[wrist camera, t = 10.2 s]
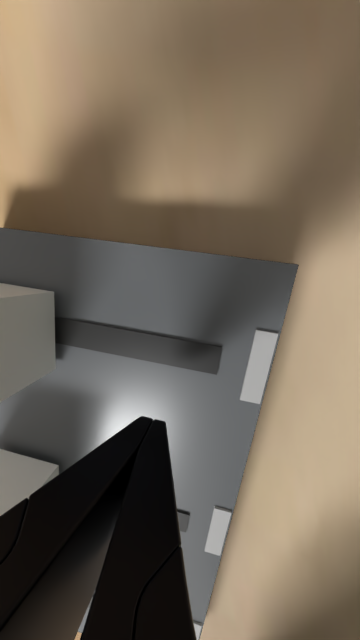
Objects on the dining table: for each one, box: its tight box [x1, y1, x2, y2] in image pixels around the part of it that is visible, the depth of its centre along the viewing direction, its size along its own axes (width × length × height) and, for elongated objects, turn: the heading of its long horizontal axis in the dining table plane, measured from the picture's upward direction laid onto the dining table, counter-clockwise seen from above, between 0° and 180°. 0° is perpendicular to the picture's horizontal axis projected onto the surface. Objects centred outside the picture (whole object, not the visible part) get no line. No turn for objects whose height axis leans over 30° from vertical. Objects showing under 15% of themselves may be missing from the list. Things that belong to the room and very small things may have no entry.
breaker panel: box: [0, 228, 298, 640], centre depth 12 cm, size 14×26×2 cm, turn 173°
